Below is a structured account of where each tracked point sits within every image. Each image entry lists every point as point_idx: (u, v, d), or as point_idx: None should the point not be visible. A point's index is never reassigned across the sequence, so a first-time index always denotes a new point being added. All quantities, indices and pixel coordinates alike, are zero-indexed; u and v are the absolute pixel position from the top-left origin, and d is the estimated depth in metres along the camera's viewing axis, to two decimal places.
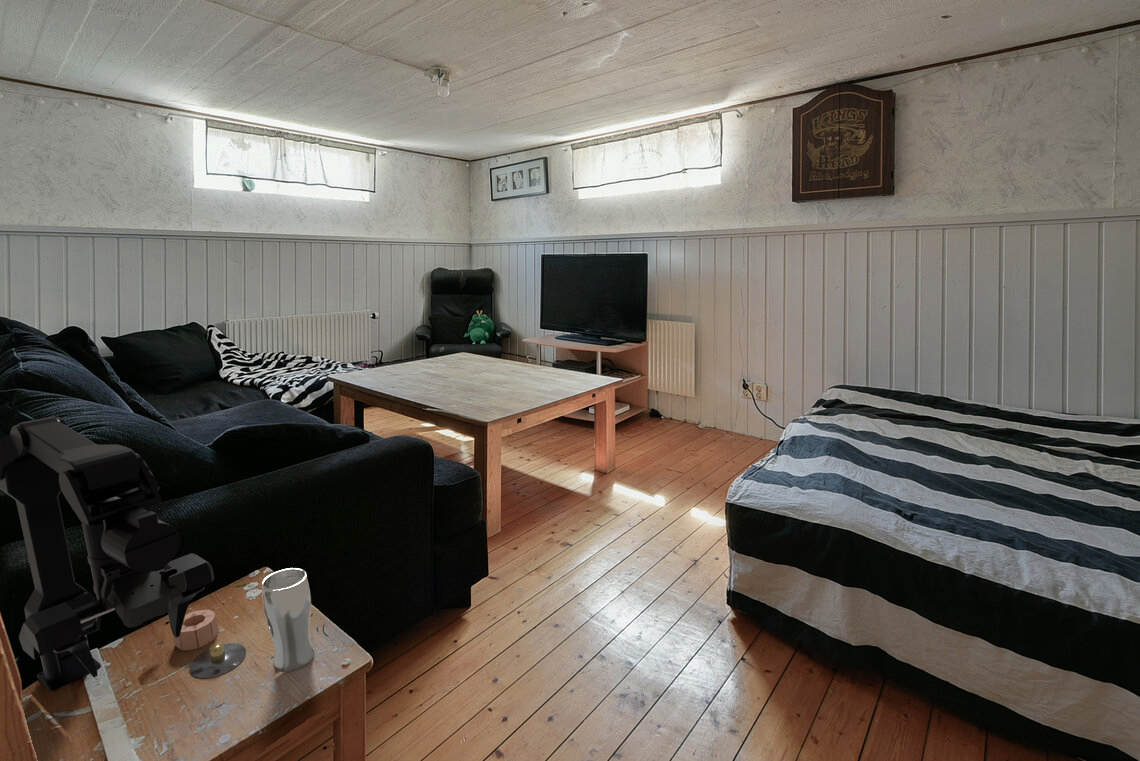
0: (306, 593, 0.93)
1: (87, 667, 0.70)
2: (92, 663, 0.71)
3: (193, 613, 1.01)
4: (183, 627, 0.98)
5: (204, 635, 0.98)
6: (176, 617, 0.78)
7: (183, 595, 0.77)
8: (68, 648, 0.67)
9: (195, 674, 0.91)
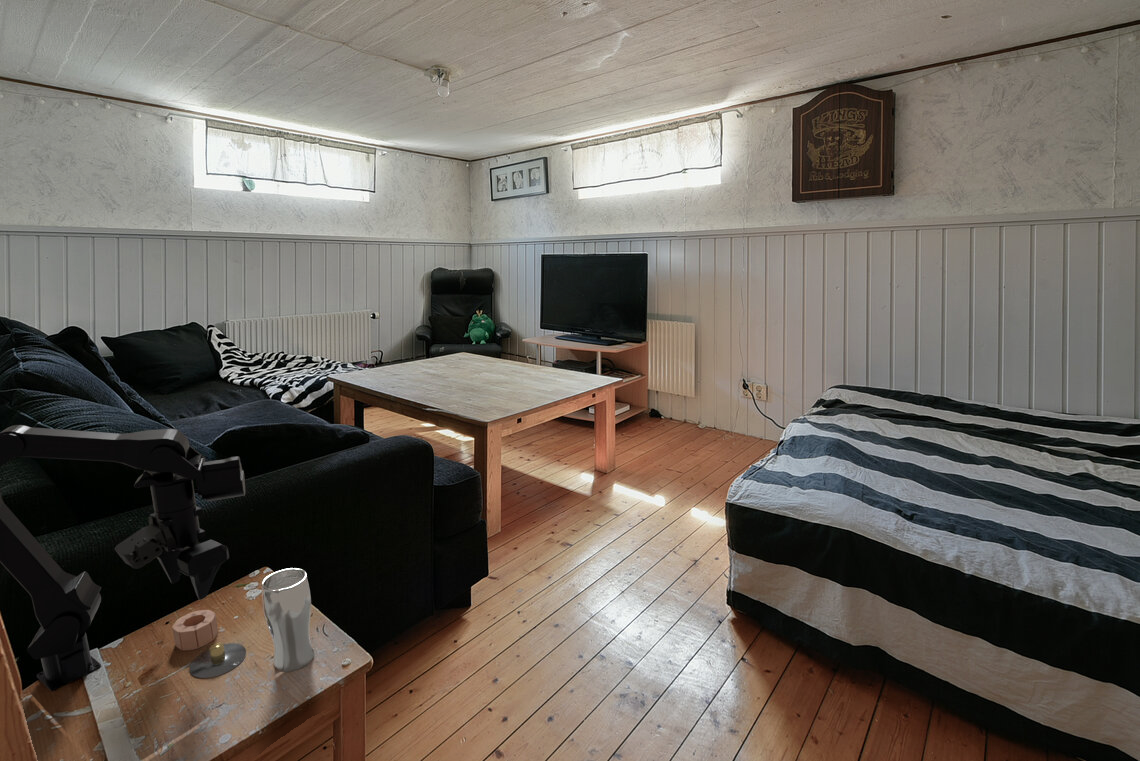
0: (306, 593, 0.93)
1: (166, 572, 1.00)
2: (166, 572, 0.99)
3: (193, 613, 1.01)
4: (183, 627, 0.98)
5: (204, 635, 0.98)
6: (193, 583, 0.94)
7: None
8: None
9: (195, 674, 0.91)
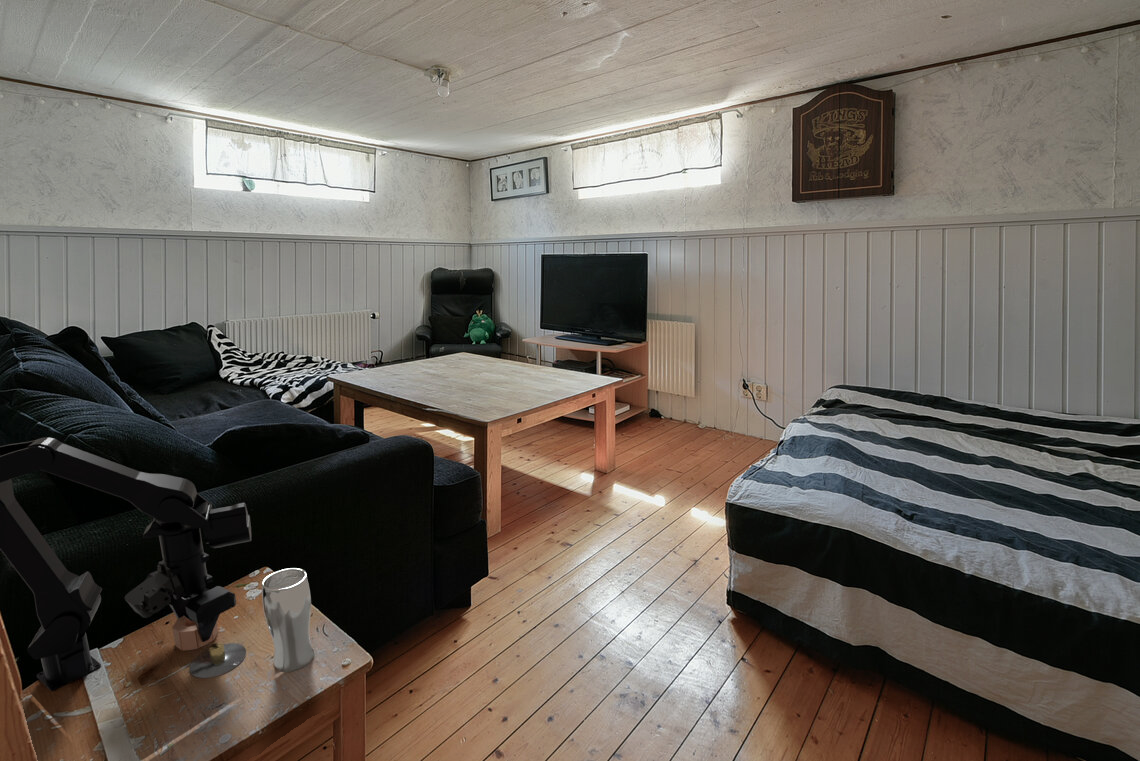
0: (306, 593, 0.93)
1: None
2: None
3: None
4: (183, 627, 0.98)
5: None
6: (196, 627, 0.97)
7: (185, 614, 0.94)
8: None
9: (195, 674, 0.91)
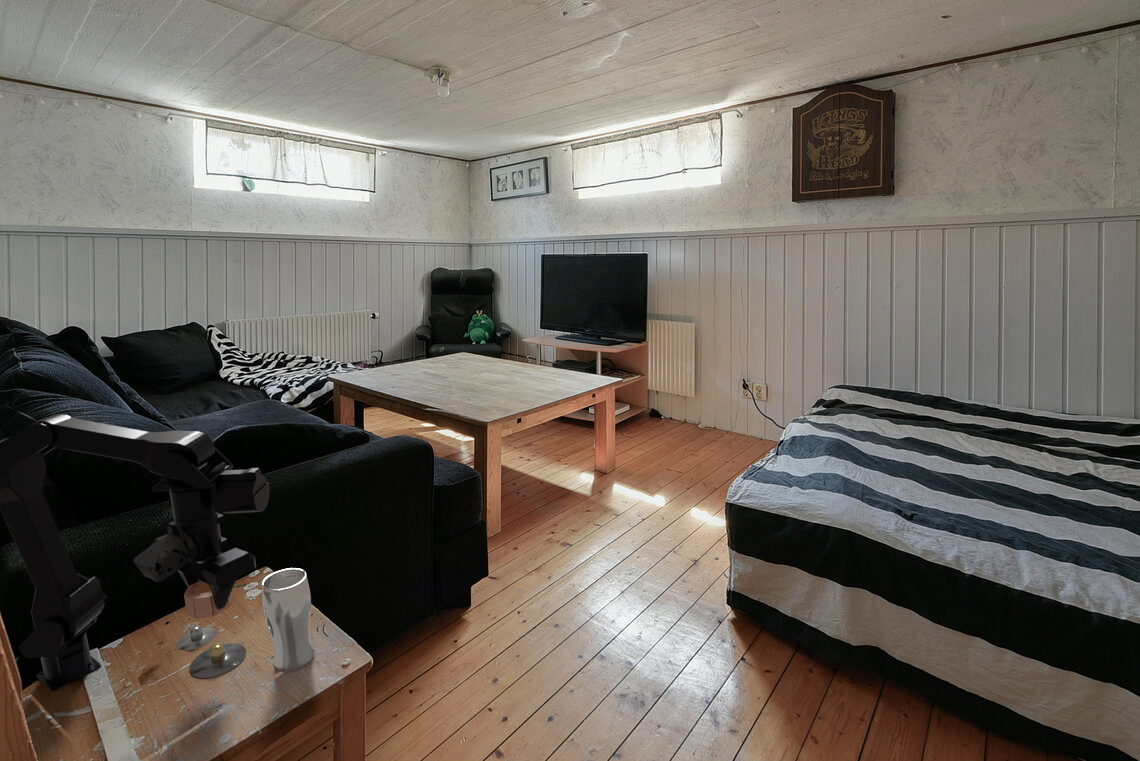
0: (306, 593, 0.93)
1: None
2: None
3: None
4: (196, 594, 0.90)
5: None
6: None
7: (201, 578, 0.87)
8: None
9: (195, 674, 0.91)
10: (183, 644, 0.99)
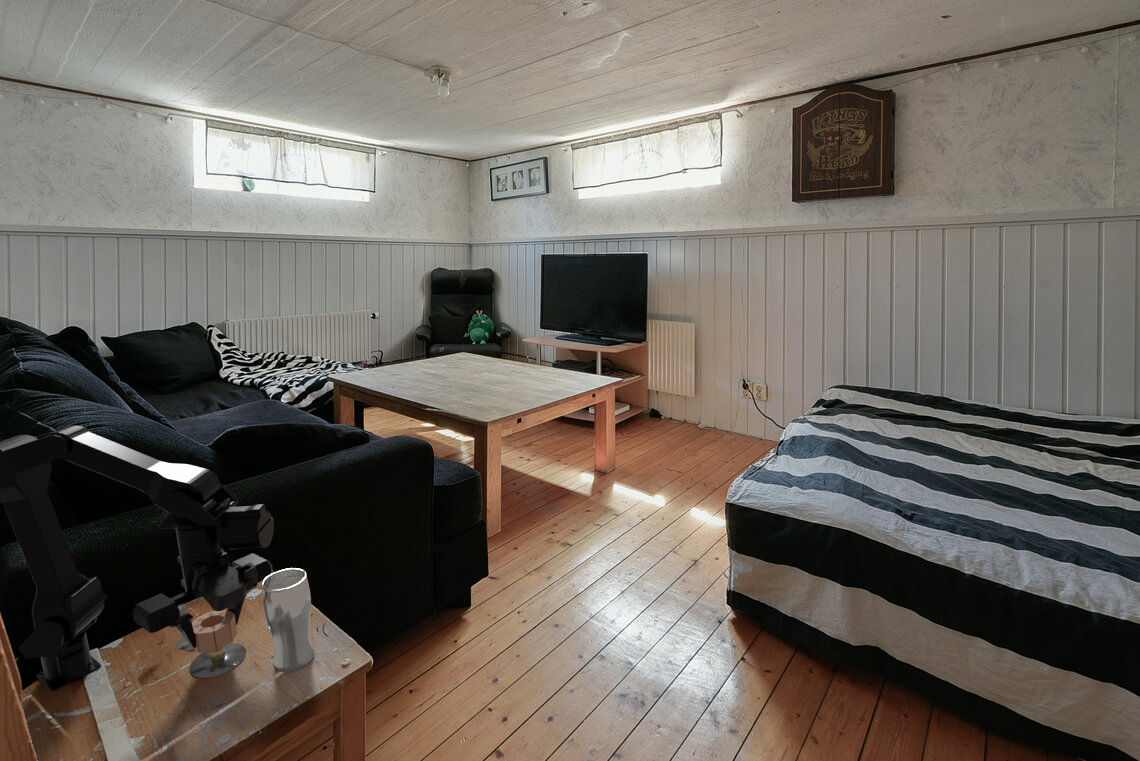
0: (306, 593, 0.93)
1: (190, 639, 0.90)
2: (193, 636, 0.90)
3: (194, 626, 0.92)
4: (221, 623, 0.93)
5: None
6: (235, 610, 0.95)
7: None
8: (180, 623, 0.86)
9: (195, 674, 0.91)
10: (183, 644, 0.99)
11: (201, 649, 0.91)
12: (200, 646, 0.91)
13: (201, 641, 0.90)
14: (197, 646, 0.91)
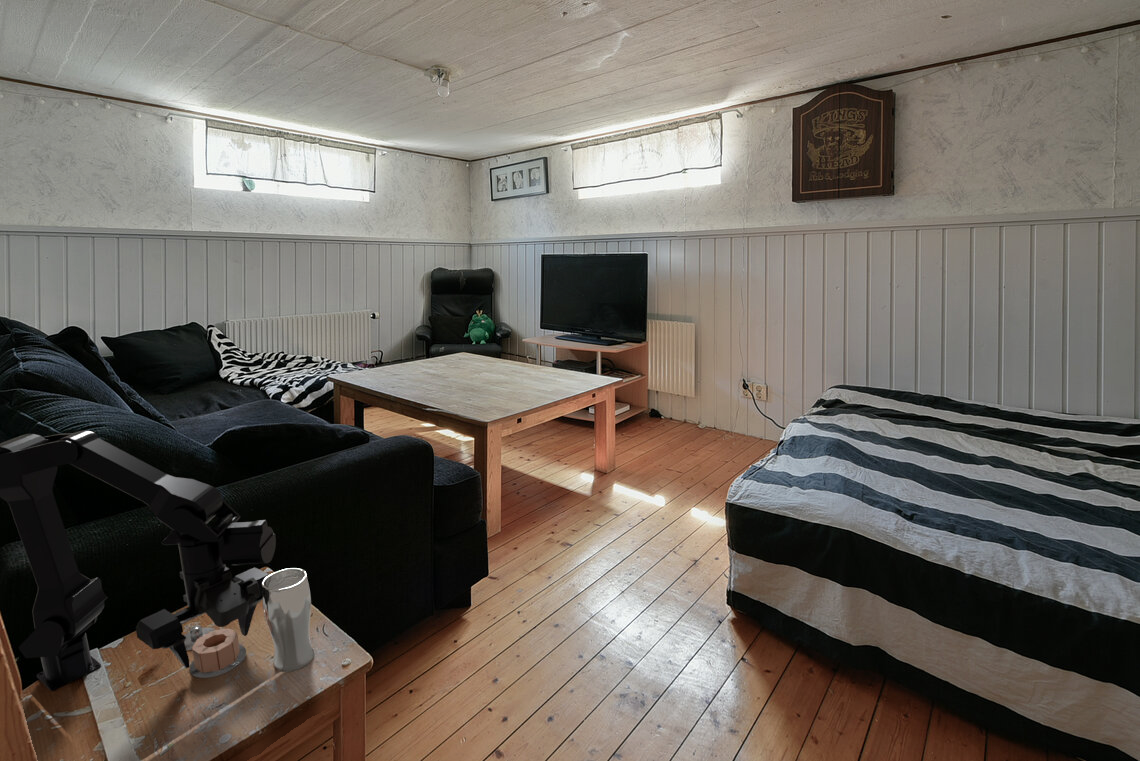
0: (306, 593, 0.93)
1: (183, 660, 0.89)
2: (186, 657, 0.89)
3: (197, 646, 0.93)
4: (224, 643, 0.93)
5: None
6: (246, 619, 0.97)
7: None
8: (172, 644, 0.86)
9: (195, 674, 0.91)
10: None
11: (204, 669, 0.92)
12: (203, 666, 0.91)
13: (204, 661, 0.91)
14: (200, 666, 0.92)
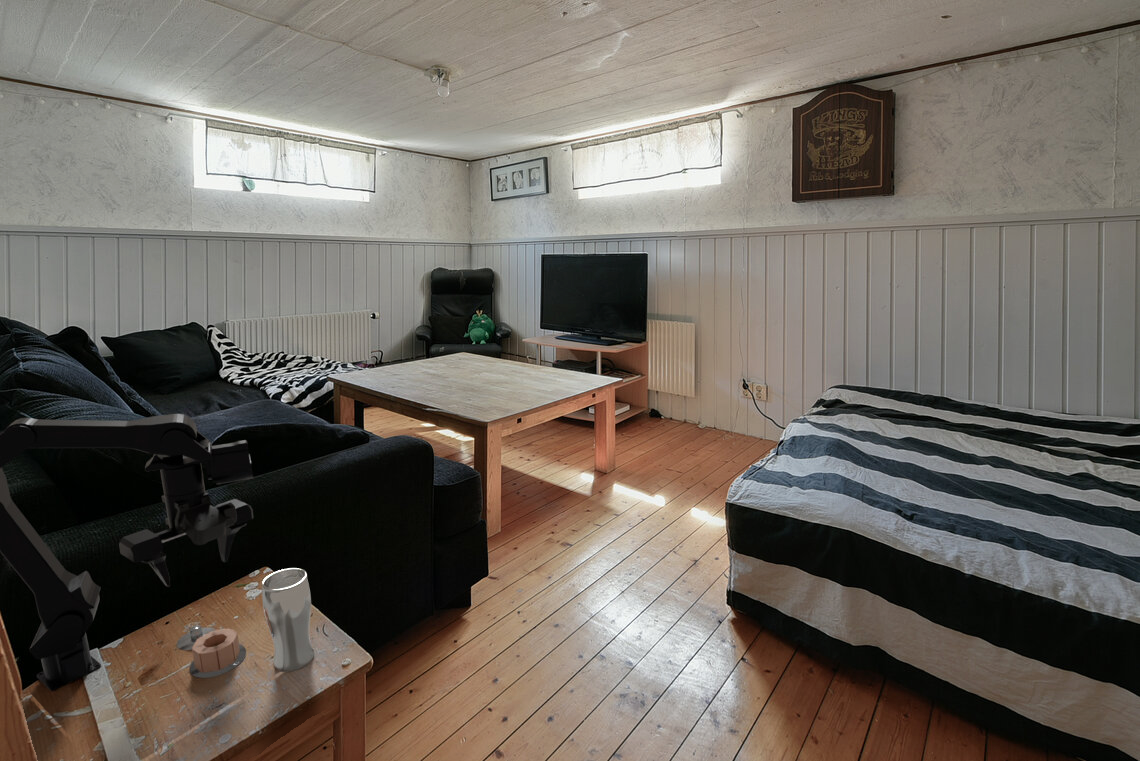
0: (306, 593, 0.93)
1: (163, 577, 0.94)
2: (167, 575, 0.95)
3: (197, 646, 0.93)
4: (224, 643, 0.93)
5: None
6: (225, 546, 1.02)
7: (231, 528, 1.01)
8: (153, 560, 0.91)
9: (195, 674, 0.91)
10: (183, 644, 0.99)
11: (204, 669, 0.92)
12: (203, 666, 0.91)
13: (204, 661, 0.91)
14: (200, 666, 0.92)
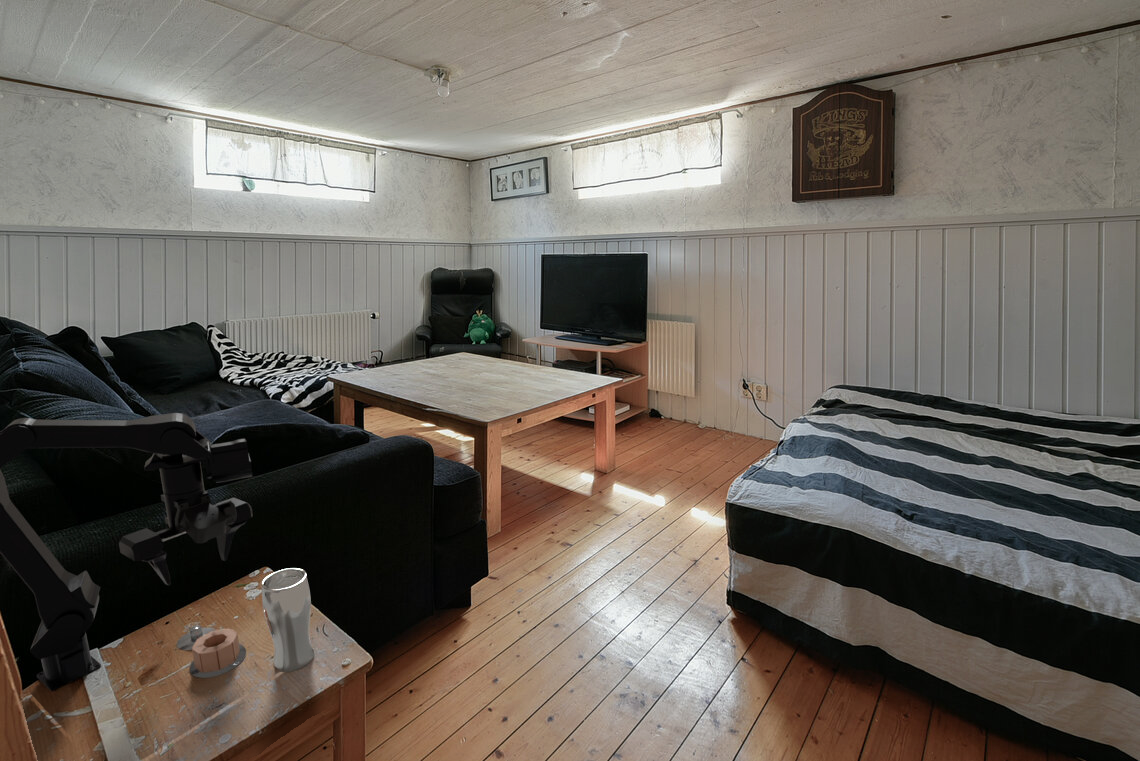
0: (306, 593, 0.93)
1: (164, 576, 0.95)
2: (167, 573, 0.95)
3: (197, 646, 0.93)
4: (224, 643, 0.93)
5: None
6: (225, 544, 1.02)
7: (231, 526, 1.01)
8: (153, 559, 0.91)
9: (195, 674, 0.91)
10: (183, 644, 0.99)
11: (204, 669, 0.92)
12: (203, 666, 0.91)
13: (204, 661, 0.91)
14: (200, 666, 0.92)
